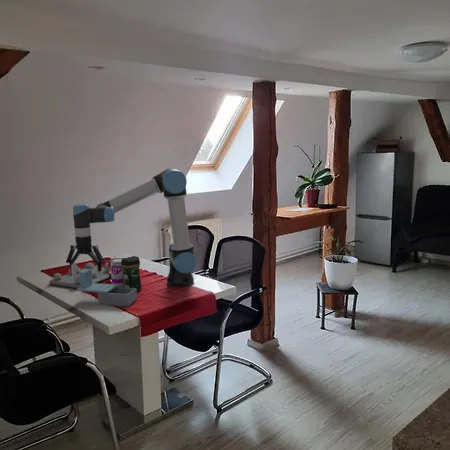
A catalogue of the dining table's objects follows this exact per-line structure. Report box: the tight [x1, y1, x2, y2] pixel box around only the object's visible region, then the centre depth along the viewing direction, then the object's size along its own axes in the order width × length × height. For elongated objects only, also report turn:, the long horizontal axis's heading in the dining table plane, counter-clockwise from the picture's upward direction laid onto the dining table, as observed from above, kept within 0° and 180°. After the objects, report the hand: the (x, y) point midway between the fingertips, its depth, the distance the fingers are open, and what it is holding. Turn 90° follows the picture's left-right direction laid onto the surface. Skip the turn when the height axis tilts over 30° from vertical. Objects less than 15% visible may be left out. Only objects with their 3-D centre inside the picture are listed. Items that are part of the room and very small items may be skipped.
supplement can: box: [110, 258, 123, 287], centre depth 248 cm, size 8×8×15 cm
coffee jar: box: [121, 255, 143, 292], centre depth 240 cm, size 10×8×19 cm
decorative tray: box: [48, 261, 110, 290], centre depth 263 cm, size 35×26×10 cm
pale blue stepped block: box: [76, 269, 117, 293], centre depth 225 cm, size 17×11×9 cm, turn 76°
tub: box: [97, 287, 138, 307], centre depth 224 cm, size 16×10×6 cm, turn 76°
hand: (86, 277), depth 227 cm, fingers open, 13 cm apart
